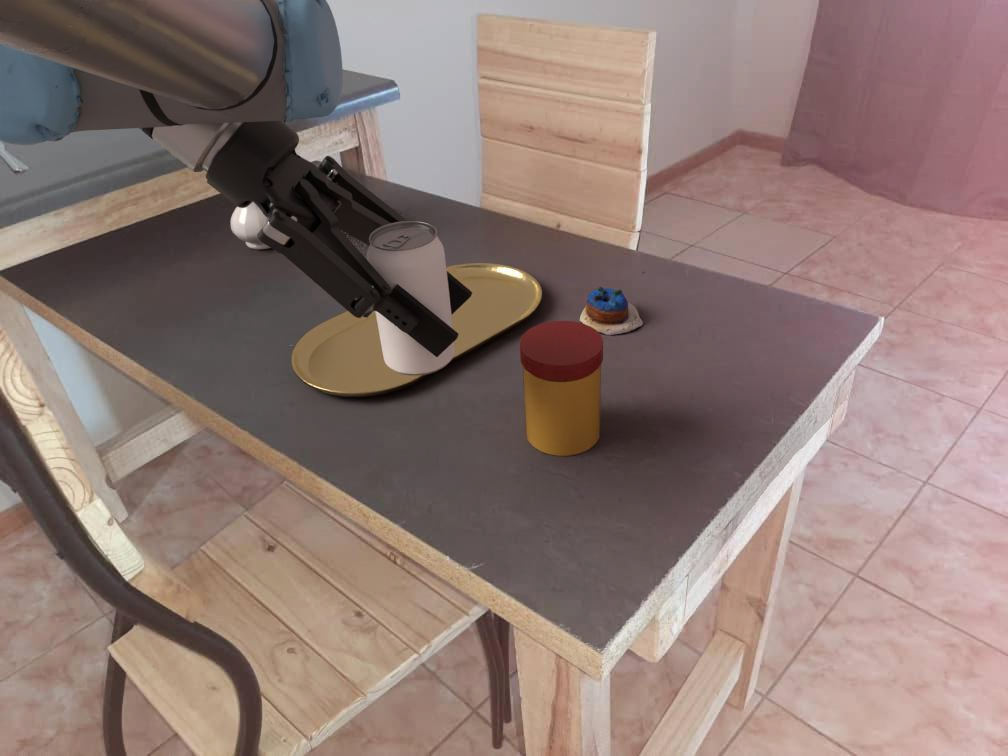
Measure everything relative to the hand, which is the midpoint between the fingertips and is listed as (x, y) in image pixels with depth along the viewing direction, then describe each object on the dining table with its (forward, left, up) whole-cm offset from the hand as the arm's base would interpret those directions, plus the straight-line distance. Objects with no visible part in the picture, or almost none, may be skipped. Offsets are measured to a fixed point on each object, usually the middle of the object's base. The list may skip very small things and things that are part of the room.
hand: (455, 323), depth 68 cm
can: (0, +4, -4) cm, 5 cm away
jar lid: (+6, -8, -6) cm, 12 cm away
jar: (+6, -8, -16) cm, 19 cm away
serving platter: (+24, +12, -16) cm, 31 cm away
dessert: (+29, -11, -16) cm, 35 cm away
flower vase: (+47, +45, -16) cm, 67 cm away
